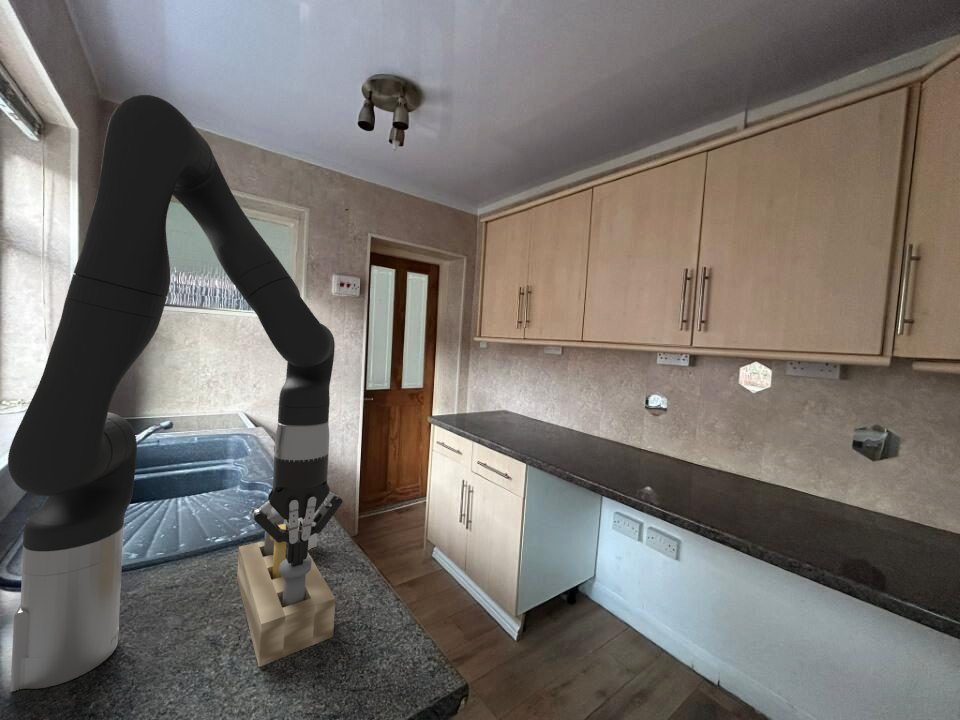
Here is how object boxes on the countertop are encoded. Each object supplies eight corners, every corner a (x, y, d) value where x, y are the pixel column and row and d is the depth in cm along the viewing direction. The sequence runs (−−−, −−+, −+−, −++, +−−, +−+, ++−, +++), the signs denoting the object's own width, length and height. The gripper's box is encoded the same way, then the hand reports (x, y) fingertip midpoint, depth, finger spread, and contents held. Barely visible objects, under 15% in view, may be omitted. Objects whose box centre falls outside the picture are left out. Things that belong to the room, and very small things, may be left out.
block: (258, 667, 52) (261, 624, 52) (237, 578, 71) (238, 546, 70) (333, 636, 58) (335, 598, 58) (295, 562, 77) (296, 533, 77)
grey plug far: (261, 568, 67) (264, 519, 67) (257, 557, 71) (259, 510, 71) (288, 561, 70) (291, 513, 70) (283, 550, 74) (285, 505, 73)
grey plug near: (279, 635, 55) (283, 574, 55) (273, 617, 58) (276, 560, 58) (311, 623, 58) (314, 565, 58) (303, 607, 61) (307, 552, 61)
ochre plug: (269, 593, 61) (272, 538, 61) (264, 579, 65) (267, 527, 64) (299, 584, 64) (302, 531, 64) (292, 571, 67) (295, 521, 67)
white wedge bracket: (335, 530, 86) (319, 502, 83) (296, 566, 80) (276, 538, 76) (327, 524, 89) (311, 497, 85) (288, 559, 82) (269, 532, 79)
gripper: (256, 463, 51) (250, 591, 51) (354, 452, 59) (347, 561, 59) (248, 450, 56) (242, 564, 57) (338, 441, 65) (332, 541, 65)
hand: (296, 562), depth 58 cm, fingers closed
